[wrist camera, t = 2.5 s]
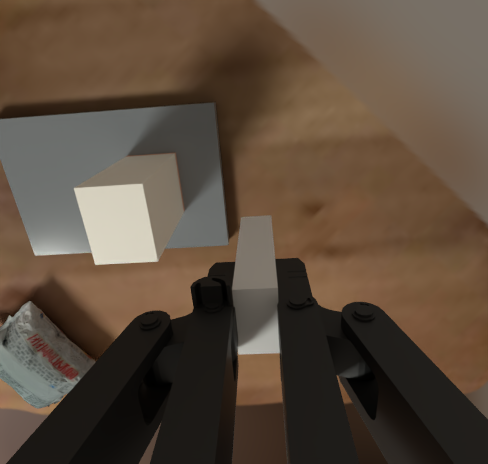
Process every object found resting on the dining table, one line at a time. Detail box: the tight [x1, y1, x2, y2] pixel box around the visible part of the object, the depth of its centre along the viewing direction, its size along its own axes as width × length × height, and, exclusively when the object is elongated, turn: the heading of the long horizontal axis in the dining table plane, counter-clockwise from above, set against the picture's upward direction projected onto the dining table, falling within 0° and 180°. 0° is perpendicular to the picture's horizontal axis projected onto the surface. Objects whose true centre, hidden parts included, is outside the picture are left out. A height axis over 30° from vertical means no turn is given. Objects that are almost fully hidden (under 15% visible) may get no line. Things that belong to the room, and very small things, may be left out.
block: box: [74, 152, 185, 265], centre depth 25 cm, size 4×5×9 cm
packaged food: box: [0, 301, 95, 408], centre depth 36 cm, size 9×12×5 cm
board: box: [0, 102, 229, 256], centre depth 29 cm, size 18×12×1 cm, turn 94°
